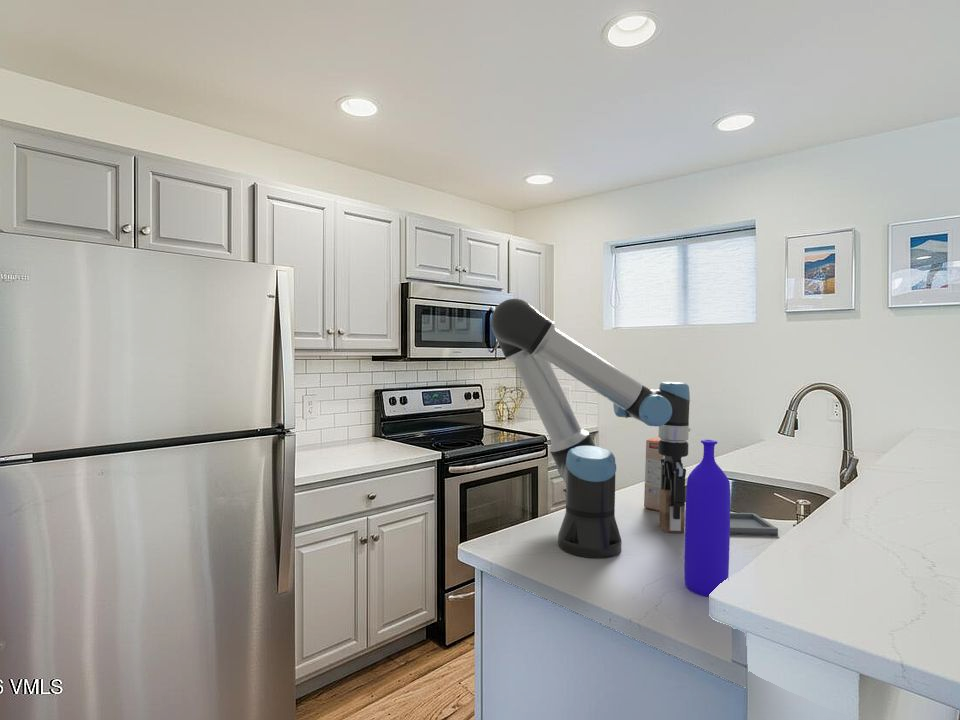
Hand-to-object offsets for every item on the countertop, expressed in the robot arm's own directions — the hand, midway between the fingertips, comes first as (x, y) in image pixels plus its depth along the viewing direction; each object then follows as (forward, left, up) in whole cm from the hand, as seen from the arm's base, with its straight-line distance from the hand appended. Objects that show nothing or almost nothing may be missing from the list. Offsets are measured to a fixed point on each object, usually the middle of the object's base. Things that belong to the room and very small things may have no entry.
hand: (671, 526), depth 141 cm
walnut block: (0, 0, -1) cm, 1 cm away
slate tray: (+20, +4, -1) cm, 20 cm away
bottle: (-4, -35, -1) cm, 35 cm away
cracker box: (+4, +22, -1) cm, 22 cm away
